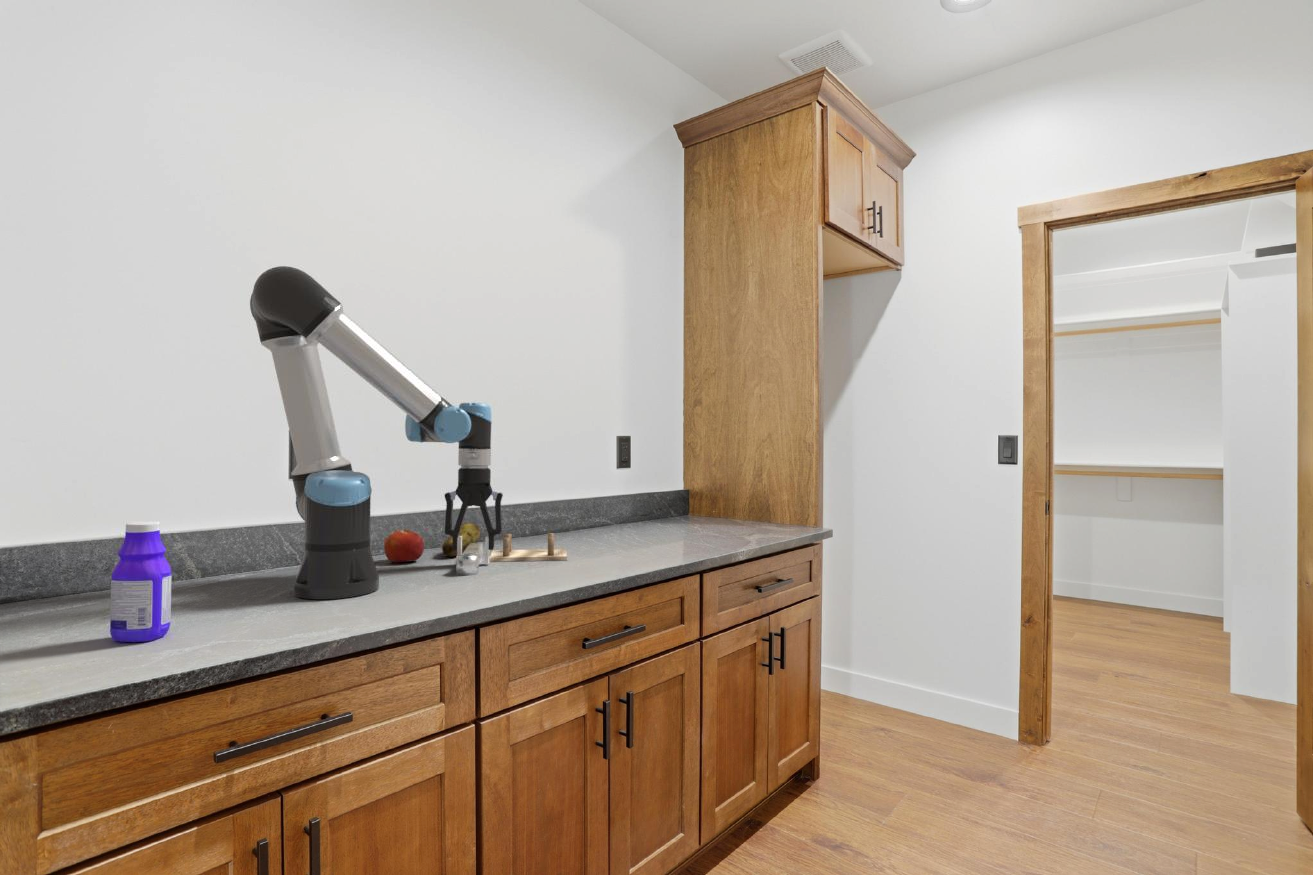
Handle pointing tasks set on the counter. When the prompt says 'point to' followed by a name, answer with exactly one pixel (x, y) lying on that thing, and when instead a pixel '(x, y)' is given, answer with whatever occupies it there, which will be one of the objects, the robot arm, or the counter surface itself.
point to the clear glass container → (469, 559)
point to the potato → (468, 534)
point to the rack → (527, 552)
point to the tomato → (403, 546)
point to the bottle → (141, 586)
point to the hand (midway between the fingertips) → (473, 563)
